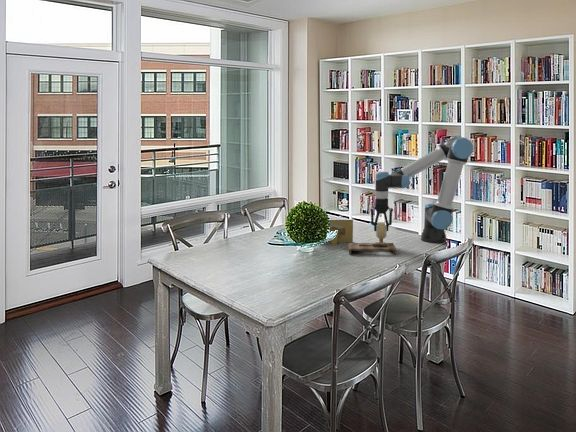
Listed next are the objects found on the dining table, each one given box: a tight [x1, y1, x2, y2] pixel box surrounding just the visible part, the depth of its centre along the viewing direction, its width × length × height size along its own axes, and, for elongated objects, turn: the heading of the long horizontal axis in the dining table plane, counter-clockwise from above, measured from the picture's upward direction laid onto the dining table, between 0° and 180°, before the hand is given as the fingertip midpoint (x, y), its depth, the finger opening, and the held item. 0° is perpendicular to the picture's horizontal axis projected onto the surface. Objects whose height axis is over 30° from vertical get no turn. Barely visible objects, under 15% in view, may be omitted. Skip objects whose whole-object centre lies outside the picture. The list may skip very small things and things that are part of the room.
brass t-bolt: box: [374, 221, 387, 243], centre depth 301 cm, size 6×6×14 cm
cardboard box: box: [329, 219, 354, 246], centre depth 308 cm, size 23×9×15 cm, turn 84°
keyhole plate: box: [347, 242, 397, 255], centre depth 288 cm, size 26×13×4 cm, turn 86°
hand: (381, 236), depth 301 cm, fingers open, 4 cm apart
